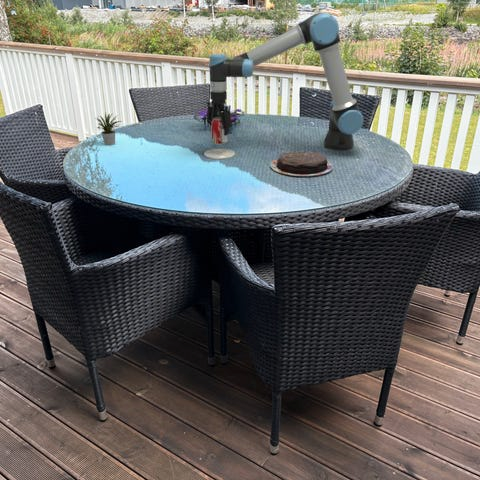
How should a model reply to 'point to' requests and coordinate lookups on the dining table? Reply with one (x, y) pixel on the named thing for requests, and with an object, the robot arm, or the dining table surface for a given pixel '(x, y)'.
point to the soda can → (217, 131)
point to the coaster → (219, 154)
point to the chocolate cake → (301, 164)
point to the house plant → (108, 129)
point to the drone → (232, 114)
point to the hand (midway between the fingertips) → (219, 140)
